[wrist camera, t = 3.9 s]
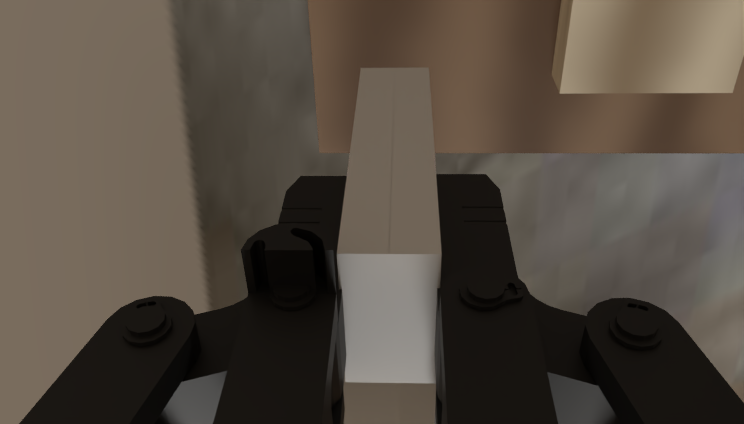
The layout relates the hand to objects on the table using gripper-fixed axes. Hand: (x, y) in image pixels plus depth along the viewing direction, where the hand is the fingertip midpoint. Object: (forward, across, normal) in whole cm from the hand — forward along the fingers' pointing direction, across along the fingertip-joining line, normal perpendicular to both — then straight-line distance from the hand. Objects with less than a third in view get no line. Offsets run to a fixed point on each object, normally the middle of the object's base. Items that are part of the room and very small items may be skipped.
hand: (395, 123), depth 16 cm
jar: (+19, +1, +31) cm, 36 cm away
